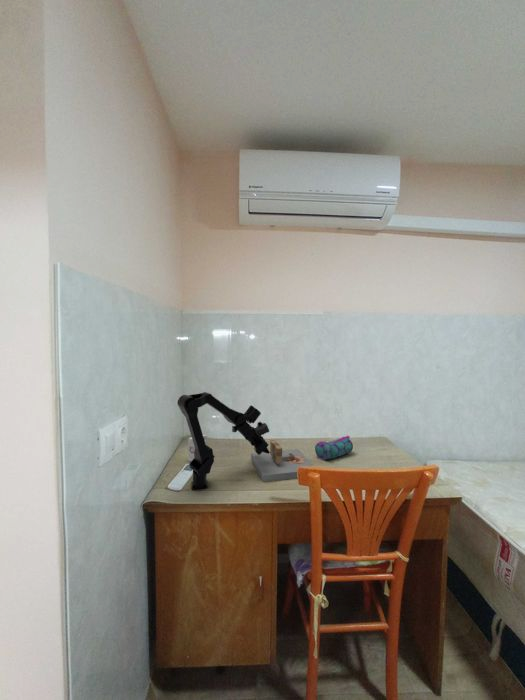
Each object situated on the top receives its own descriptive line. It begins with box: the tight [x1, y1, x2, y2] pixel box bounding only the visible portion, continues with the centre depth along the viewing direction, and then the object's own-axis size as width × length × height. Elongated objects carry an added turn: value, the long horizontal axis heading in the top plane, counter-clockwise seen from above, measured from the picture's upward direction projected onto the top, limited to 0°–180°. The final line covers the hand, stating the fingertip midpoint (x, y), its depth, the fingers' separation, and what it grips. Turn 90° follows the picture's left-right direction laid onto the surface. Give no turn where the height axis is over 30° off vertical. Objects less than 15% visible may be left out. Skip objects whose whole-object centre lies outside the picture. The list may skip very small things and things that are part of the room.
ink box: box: [187, 434, 208, 463], centre depth 141 cm, size 9×5×12 cm, turn 149°
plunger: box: [269, 439, 294, 464], centre depth 135 cm, size 11×10×8 cm
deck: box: [250, 448, 315, 483], centre depth 135 cm, size 24×26×3 cm
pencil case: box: [314, 435, 354, 461], centre depth 149 cm, size 21×9×10 cm, turn 122°
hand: (268, 452), depth 133 cm, fingers closed
